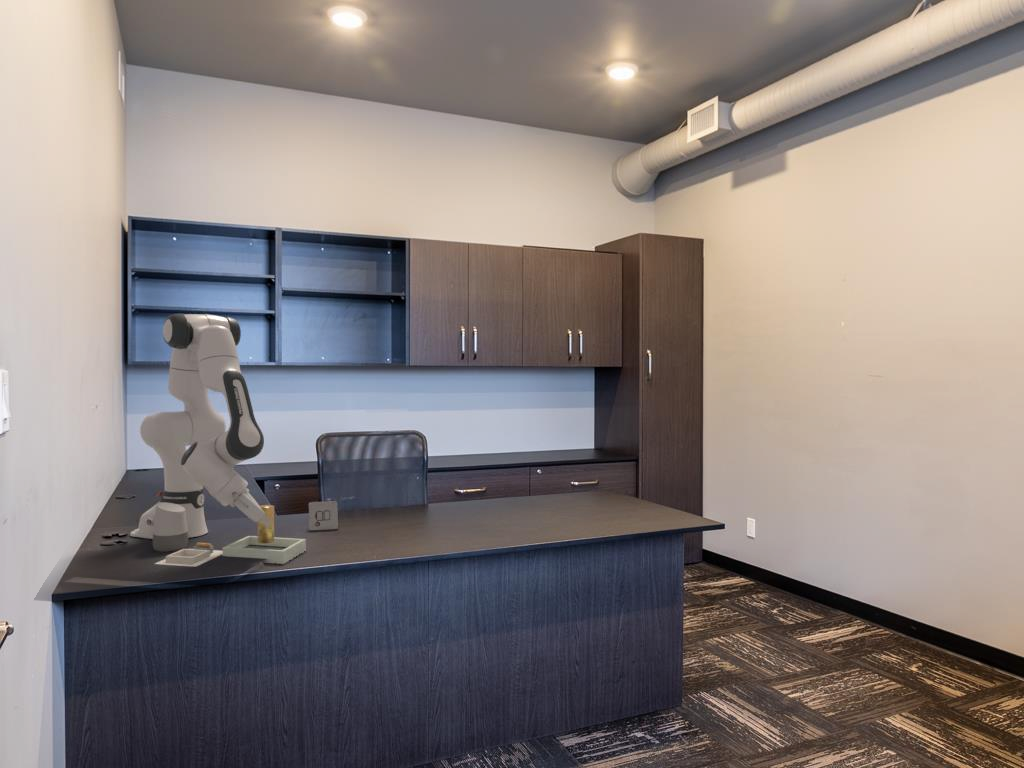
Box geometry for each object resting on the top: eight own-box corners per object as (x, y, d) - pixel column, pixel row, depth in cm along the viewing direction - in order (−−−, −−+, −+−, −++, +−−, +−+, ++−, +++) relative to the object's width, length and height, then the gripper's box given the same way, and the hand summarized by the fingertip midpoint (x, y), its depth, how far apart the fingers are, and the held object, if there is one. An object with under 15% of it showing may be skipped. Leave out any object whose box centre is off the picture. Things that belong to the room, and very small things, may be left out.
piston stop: (254, 543, 200) (255, 507, 200) (262, 539, 204) (262, 504, 204) (269, 543, 199) (269, 508, 199) (276, 540, 204) (277, 505, 204)
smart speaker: (180, 556, 200) (181, 506, 200) (146, 556, 199) (147, 506, 199) (193, 547, 209) (193, 500, 209) (160, 547, 209) (161, 500, 208)
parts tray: (222, 560, 197) (222, 547, 196) (248, 547, 210) (248, 535, 210) (283, 564, 194) (283, 551, 194) (305, 551, 208) (305, 539, 208)
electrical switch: (308, 531, 232) (309, 502, 233) (307, 529, 237) (307, 501, 238) (338, 529, 236) (338, 501, 236) (336, 528, 240) (336, 500, 241)
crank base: (153, 568, 188) (153, 553, 187) (189, 552, 203) (189, 539, 203) (195, 571, 186) (196, 556, 186) (228, 555, 202) (228, 541, 202)
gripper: (244, 487, 189) (282, 521, 194) (236, 477, 207) (271, 508, 212) (226, 505, 187) (265, 539, 192) (220, 493, 206) (255, 524, 210)
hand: (268, 522), depth 202 cm, fingers closed on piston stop, 4 cm apart
